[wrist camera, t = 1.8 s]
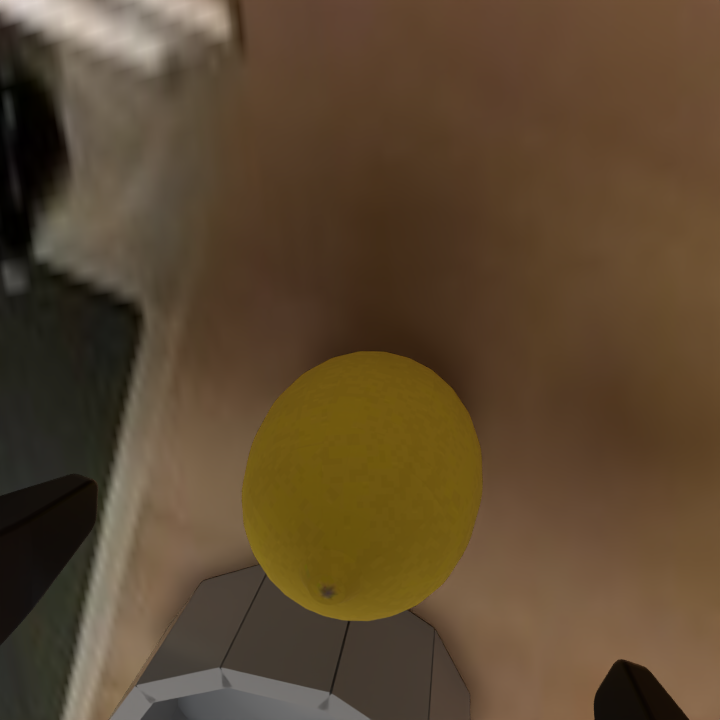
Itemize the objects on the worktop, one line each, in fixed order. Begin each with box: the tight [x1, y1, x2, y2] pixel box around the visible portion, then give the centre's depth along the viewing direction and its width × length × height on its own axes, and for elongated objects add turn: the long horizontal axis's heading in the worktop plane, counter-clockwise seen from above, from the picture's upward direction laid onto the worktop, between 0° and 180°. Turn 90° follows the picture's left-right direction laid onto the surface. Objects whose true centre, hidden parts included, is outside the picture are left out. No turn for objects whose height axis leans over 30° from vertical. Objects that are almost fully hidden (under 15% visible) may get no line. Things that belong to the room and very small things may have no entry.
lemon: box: [242, 351, 483, 621], centre depth 13 cm, size 6×6×8 cm
